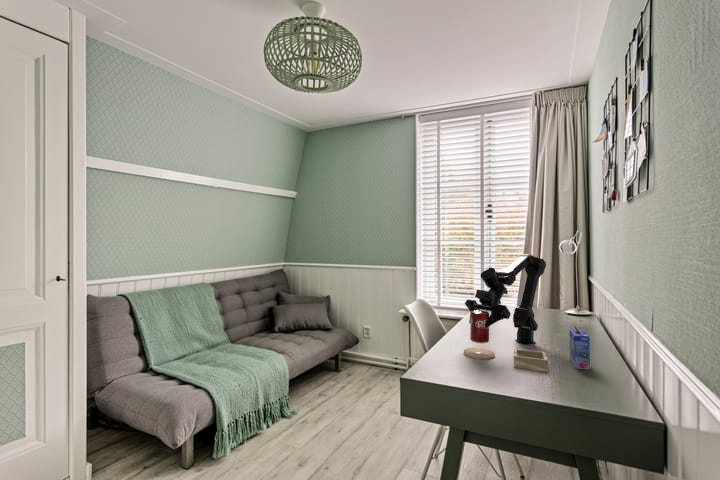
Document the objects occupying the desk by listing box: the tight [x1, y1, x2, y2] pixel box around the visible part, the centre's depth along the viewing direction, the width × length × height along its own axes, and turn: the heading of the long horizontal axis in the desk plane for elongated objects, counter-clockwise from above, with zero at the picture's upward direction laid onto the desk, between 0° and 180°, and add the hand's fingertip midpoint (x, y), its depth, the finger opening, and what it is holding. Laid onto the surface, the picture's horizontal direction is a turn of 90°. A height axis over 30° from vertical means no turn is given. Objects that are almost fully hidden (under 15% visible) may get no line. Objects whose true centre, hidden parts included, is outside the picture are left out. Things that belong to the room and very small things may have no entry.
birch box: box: [513, 348, 549, 372], centre depth 144 cm, size 11×11×4 cm
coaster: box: [463, 347, 496, 360], centre depth 157 cm, size 12×12×1 cm
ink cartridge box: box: [569, 325, 591, 371], centre depth 145 cm, size 10×6×14 cm, turn 161°
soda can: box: [469, 309, 490, 345], centre depth 157 cm, size 7×7×12 cm
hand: (477, 325), depth 156 cm, fingers closed on soda can, 7 cm apart
